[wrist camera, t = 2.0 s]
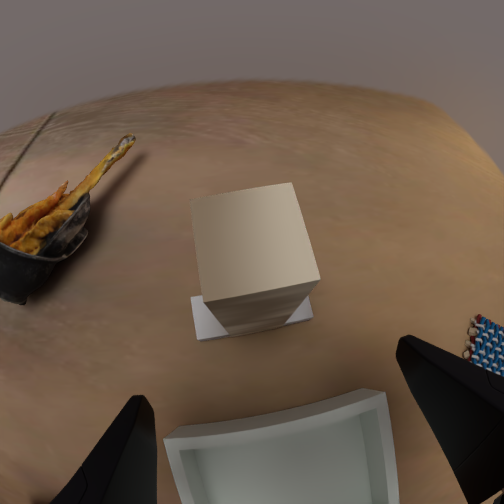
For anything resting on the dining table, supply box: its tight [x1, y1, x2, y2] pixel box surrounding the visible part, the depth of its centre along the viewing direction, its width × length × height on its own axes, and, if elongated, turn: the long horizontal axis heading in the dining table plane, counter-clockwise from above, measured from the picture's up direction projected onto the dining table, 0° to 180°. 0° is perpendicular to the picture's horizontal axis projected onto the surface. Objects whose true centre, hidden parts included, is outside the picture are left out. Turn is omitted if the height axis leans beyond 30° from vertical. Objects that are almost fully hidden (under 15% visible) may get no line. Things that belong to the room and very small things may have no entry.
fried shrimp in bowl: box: [0, 133, 136, 305], centre depth 19 cm, size 9×11×18 cm
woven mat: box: [464, 314, 504, 376], centre depth 17 cm, size 10×11×2 cm
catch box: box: [163, 388, 399, 504], centre depth 14 cm, size 14×12×4 cm
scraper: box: [190, 183, 320, 341], centre depth 15 cm, size 8×3×13 cm, turn 101°
